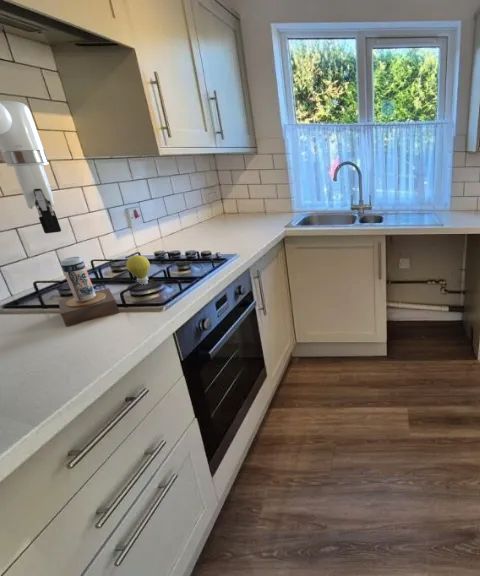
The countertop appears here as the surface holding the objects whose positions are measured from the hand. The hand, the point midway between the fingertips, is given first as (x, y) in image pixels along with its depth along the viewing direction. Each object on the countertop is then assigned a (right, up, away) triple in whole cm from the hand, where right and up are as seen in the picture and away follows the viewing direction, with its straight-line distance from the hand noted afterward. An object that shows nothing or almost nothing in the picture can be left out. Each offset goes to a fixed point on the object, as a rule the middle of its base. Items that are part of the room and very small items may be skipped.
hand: (52, 229), depth 93 cm
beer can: (+1, -18, +10) cm, 21 cm away
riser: (+1, -22, +11) cm, 25 cm away
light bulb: (+3, -14, +32) cm, 34 cm away
